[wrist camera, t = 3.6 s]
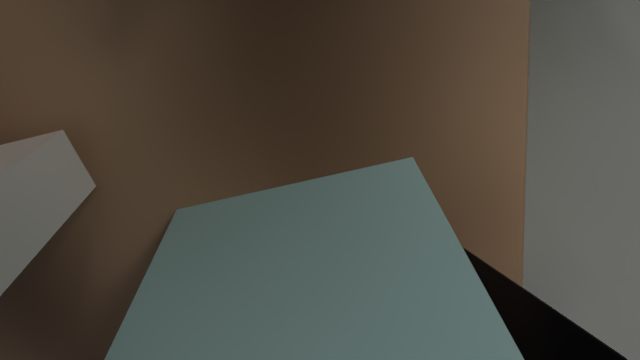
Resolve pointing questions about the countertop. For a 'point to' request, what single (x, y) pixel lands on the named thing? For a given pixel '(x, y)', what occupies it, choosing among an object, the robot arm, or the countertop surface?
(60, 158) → the white bent bar
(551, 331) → the robot arm
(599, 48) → the countertop surface
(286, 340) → the teal hollow cube
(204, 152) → the board
